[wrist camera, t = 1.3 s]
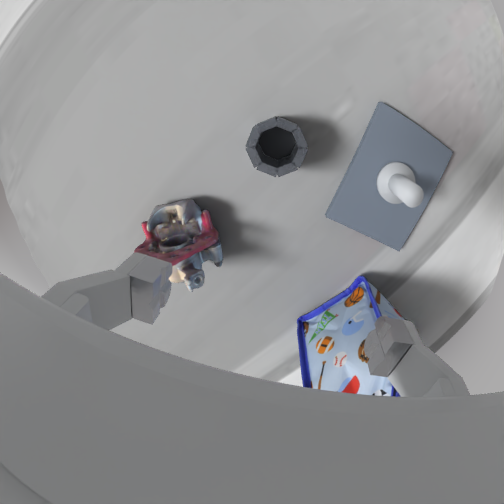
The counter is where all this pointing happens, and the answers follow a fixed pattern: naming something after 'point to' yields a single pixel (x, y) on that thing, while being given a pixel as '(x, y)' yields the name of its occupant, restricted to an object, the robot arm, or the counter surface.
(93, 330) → the robot arm
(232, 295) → the counter surface
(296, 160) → the hub ring
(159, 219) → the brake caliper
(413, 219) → the post block
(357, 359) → the lunch bag
